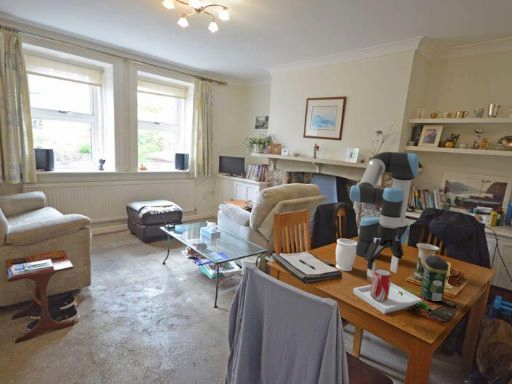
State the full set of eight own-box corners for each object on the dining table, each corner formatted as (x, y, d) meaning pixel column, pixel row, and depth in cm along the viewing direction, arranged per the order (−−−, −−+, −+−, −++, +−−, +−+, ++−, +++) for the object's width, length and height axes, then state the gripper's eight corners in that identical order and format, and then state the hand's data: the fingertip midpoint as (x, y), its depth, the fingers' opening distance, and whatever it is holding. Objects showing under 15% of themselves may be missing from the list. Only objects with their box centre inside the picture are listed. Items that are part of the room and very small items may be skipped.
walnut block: (373, 278, 143) (375, 267, 142) (381, 283, 139) (383, 271, 138) (366, 279, 141) (368, 268, 140) (374, 284, 137) (376, 272, 136)
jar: (355, 273, 147) (358, 245, 145) (334, 270, 149) (337, 243, 147) (352, 265, 157) (355, 239, 155) (333, 262, 159) (336, 237, 157)
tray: (387, 285, 136) (388, 281, 136) (421, 304, 121) (422, 299, 121) (352, 292, 127) (353, 288, 126) (384, 314, 112) (385, 308, 111)
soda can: (385, 304, 117) (390, 277, 115) (368, 298, 121) (372, 272, 119) (388, 297, 123) (393, 271, 121) (371, 292, 127) (375, 266, 125)
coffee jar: (418, 290, 133) (424, 252, 130) (437, 294, 131) (444, 255, 128) (423, 300, 124) (430, 260, 121) (444, 304, 122) (452, 263, 119)
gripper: (401, 220, 125) (394, 266, 129) (359, 225, 115) (352, 274, 118) (417, 225, 118) (409, 273, 122) (373, 230, 108) (366, 282, 112)
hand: (381, 273), depth 120 cm, fingers open, 13 cm apart
